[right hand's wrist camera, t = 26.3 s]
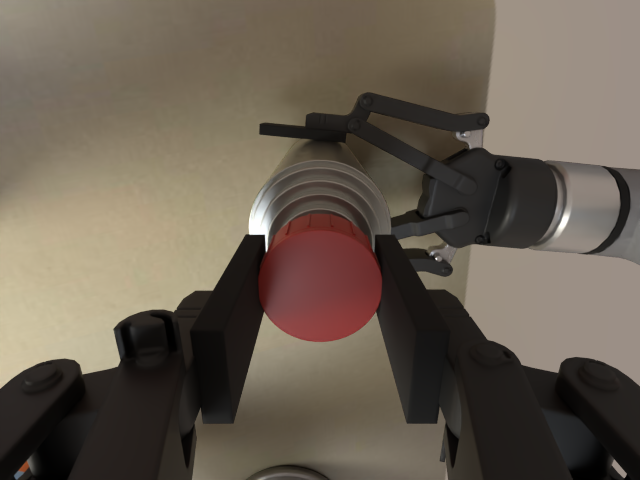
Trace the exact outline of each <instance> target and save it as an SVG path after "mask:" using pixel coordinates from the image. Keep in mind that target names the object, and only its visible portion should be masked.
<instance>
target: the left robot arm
mask: <svg viewBox="0 0 640 480" xmlns="http://www.w3.org/2000/svg"><path fill="white" fill-rule="evenodd" d="M371 112H374V113H378V114H382V115H386V116H390V117H394V118H398V119H402V120H405V121H409V122H413V123H417V124H421V125H425V126H429V127H433V128H437V129H442V130H447V131H452V136H453V138H454V139H456V140H459V141H462V142H463V143H464V144H465V148H464V149H463V150H461V151H459V152H457V153H455V154H454V155H452V156H450V157H448V158H446V159H445V160H443V161H441V162H439V161H437V160H435V159H433V158H431V157H429V156H428V155H426V154H424V153H422V152H420V151H419V150H417V149H415V148H413V147H411V146H409V145H408V144H406V143H404V142H402V141H400V140H399V139H397V138H395V137H393V136H391V135H389V134H388V133H386V132H384V131H382V130H380V129H379V128H377V127H375V126H373V125H371V124H369V123H368V122H366V121H367V119H368V117H369V115H370V113H371ZM489 121H490V120H489V116H488V115H487V114H486V113H471V112H469V113H460V114H451V113H447V112H443V111H439V110H436V109H432V108H428V107H424V106H420V105H416V104H412V103H409V102H405V101H401V100H397V99H393V98H389V97H385V96H382V95H378V94H374V93H368V92H367V93H364V94H361V95H360V96H359V97H358V99H357V102H356V104H355V106H354V108H353V110H352V112H351V113H349V114H348V115H333V114H323V113H310V114H307V115H306V125H305V127H304V126H294V125H284V124H274V123H262V124H260V132H259V134H260V135H270V136H280V137H290V138H300V139H311V140H321V141H331V142H341V143H345V141H346V133H353V134H355V135H356V136H358V137H360V138H362V139H364V140H366V141H368V142H369V143H371V144H373V145H375V146H377V147H379V148H380V149H382V150H384V151H386V152H388V153H390V154H392V155H393V156H395V157H397V158H399V159H401V160H403V161H405V162H406V163H408V164H410V165H412V166H414V167H416V168H417V169H419V170H421V171H423V172H425V173H426V174H424V176H423V181H422V188H423V193H422V195H421V197H420V199H419V202H418V207H417V209H415V210H411V211H408V212H406V213H405V214H403V215H400V216H396V217H393V218H391V234H394V235H395V236H396V238H397V240H399V239H403V238H406V237H410V236H423V235H427V234H430V233H434V232H435V233H436V234H437V235H438V236H439V237H440V238H441V239H442V240H444V242H443V243H442V244H441V245H439V246H430V247H428V249H427V250H425V249H419V248H410V249H403V250H404V252H405V254H406V255H407V257H408V259H409V260H410V262H411V264H412V266H413V267H414V269H415V271H416V272H417V271H426V272H430V273H433V274H436V275H440V276H444V277H446V276H449V275H451V273H452V271H453V268H452V266H451V265H450V262H451V260H452V258H453V256H454V254H455V252H456V250H457V248H462V247H465V246H467V245H471V244H479V245H487V246H498V247H509V248H520V249H523V248H529V249H533V250H540V251H554V252H568V253H579V254H590V255H599V256H609V257H618V258H623V259H627V260H630V261H632V262H634V263H636V264H639V265H640V170H637V169H624V168H611V167H606V166H599V165H590V164H580V163H570V162H561V161H542V160H539V159H531V158H521V157H511V156H501V155H493V154H491V153H489V152H488V151H487V150H486V149H484V148H482V141H483V129H484V128H486V127H487V126H488V124H489ZM247 480H328V479H327V478H325V477H324V476H322V475H320V474H319V473H316V472H314V471H311V470H308V469H305V468H300V467H292V466H282V467H274V468H269V469H265V470H262V471H260V472H258V473H256V474H254V475H252V476H251V477H249V478H248V479H247Z"/></svg>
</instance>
